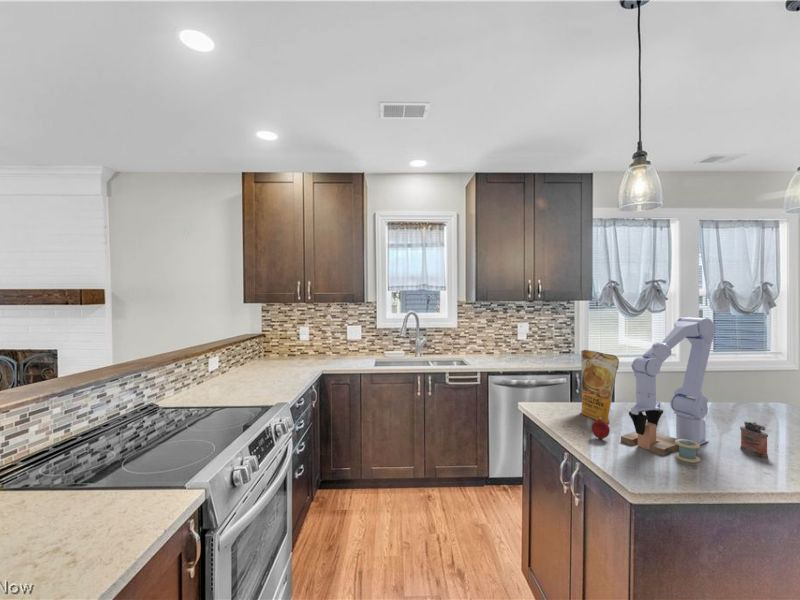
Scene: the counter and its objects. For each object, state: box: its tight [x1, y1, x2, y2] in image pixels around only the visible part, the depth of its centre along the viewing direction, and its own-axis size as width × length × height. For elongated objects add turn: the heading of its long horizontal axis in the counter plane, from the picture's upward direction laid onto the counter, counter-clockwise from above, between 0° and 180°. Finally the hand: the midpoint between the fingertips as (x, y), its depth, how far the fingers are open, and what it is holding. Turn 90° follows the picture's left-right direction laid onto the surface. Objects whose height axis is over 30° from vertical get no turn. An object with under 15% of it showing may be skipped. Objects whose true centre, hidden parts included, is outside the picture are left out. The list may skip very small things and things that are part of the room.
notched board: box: [620, 430, 679, 456], centre depth 135 cm, size 14×14×2 cm
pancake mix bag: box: [580, 349, 620, 424], centre depth 164 cm, size 7×19×28 cm, turn 13°
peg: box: [637, 421, 657, 451], centre depth 133 cm, size 4×4×8 cm
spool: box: [674, 439, 701, 464], centre depth 123 cm, size 6×6×5 cm
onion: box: [591, 417, 611, 440], centre depth 140 cm, size 6×6×8 cm
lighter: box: [739, 420, 769, 459], centre depth 126 cm, size 8×3×10 cm, turn 5°
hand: (646, 431), depth 133 cm, fingers open, 7 cm apart
